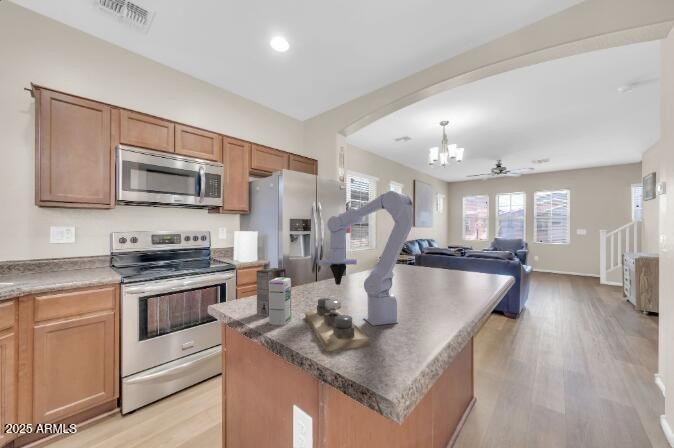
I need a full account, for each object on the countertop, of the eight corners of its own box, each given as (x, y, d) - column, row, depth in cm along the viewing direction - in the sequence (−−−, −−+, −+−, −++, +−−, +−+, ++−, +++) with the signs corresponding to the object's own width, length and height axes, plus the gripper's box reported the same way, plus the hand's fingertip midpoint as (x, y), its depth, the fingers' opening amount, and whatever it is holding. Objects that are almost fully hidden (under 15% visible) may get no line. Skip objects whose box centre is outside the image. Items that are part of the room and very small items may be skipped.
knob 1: (329, 310, 97) (329, 297, 97) (333, 314, 93) (333, 301, 93) (316, 311, 96) (316, 298, 96) (319, 315, 91) (319, 302, 91)
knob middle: (338, 312, 88) (338, 298, 88) (342, 317, 83) (342, 302, 83) (323, 314, 86) (323, 299, 86) (327, 318, 82) (327, 303, 82)
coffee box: (274, 308, 108) (274, 267, 108) (286, 310, 104) (286, 268, 105) (256, 314, 100) (256, 270, 101) (268, 317, 97) (268, 271, 97)
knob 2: (348, 330, 78) (348, 314, 78) (354, 336, 74) (354, 319, 74) (332, 332, 77) (332, 316, 77) (337, 338, 72) (337, 321, 72)
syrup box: (285, 325, 88) (285, 280, 88) (268, 324, 89) (268, 280, 90) (291, 320, 94) (291, 277, 94) (275, 318, 95) (275, 277, 95)
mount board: (337, 314, 100) (337, 302, 100) (369, 345, 73) (369, 328, 73) (305, 317, 96) (305, 304, 96) (326, 351, 69) (326, 333, 70)
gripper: (352, 247, 109) (352, 281, 109) (316, 248, 105) (316, 283, 105) (358, 248, 103) (358, 284, 102) (321, 249, 98) (321, 287, 98)
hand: (337, 284), depth 103 cm, fingers closed
